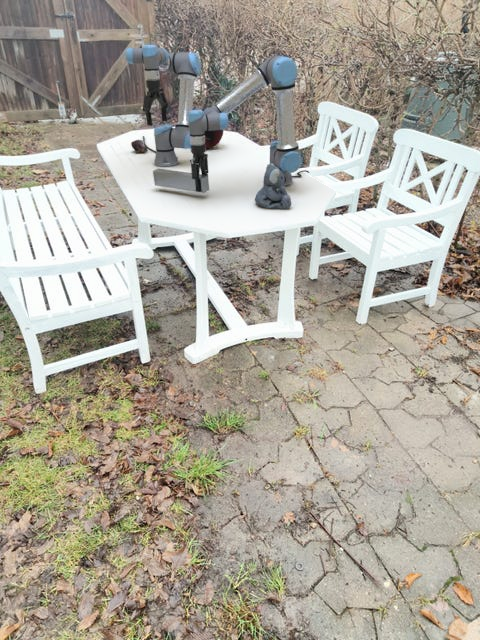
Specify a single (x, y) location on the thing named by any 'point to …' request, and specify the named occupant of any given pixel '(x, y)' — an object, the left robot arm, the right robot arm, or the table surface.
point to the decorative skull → (213, 138)
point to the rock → (138, 146)
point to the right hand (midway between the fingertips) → (201, 189)
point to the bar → (179, 180)
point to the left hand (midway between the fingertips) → (157, 123)
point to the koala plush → (273, 190)
